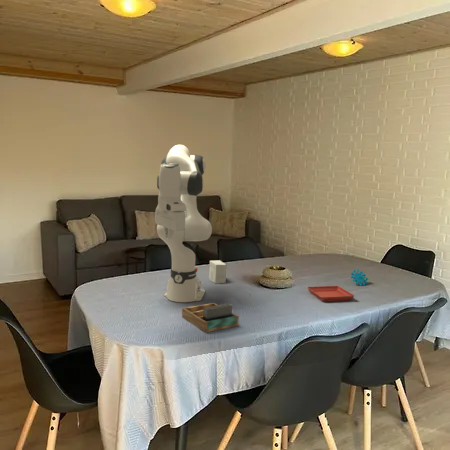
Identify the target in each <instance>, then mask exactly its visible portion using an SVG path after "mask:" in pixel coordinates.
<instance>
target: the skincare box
mask: <svg viewBox="0 0 450 450" xmlns="http://www.w3.org/2000/svg"><path fill="white" fill-rule="evenodd" d="M208 268H209V271H208V272H209V273H208V280H210V281H211V282H212V283H214V284H226V279H227V278H226V277H227V264H226V263H225V262H223V261H222V260H220V259H219V260H209V267H208Z"/></svg>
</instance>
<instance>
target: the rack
mask: <svg viewBox="0 0 450 450" xmlns="http://www.w3.org/2000/svg"><path fill="white" fill-rule="evenodd" d="M217 305H218V304H217V303H215V302H211V303H206V304H205V303H204V304H199V305H191V306H188V307H187V306H186V307H182V311H181V315H182V316H181V317H182V318H183V319H184V320H186V321H187V322H188V323H190V324H192V325H194V326H195V327H196V329H197V328H198V329H199V330H201V331H202V332H204V333H210V332H214V331H218V330H223V329H229V328H233V327H238V326H239V318H240V317H239V315H237V314H235V313H234V312H232V317H227V318H222V319H217V320H211V321H205V320H203V308H205V307H211V306H217Z"/></svg>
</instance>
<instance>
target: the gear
mask: <svg viewBox="0 0 450 450" xmlns="http://www.w3.org/2000/svg"><path fill="white" fill-rule="evenodd" d="M366 276H367V274H366V273H364V271H362V270H361V271H360V270H359V269H356V270H355V269H354V270H352V272H351V273H350V278H351V279H352V282H353V283H354V284H355V285H359V286H360V287H361V286H365V285H366V284H367V283H368V280H369V279H370V276H367V277H366ZM355 282H356V283H355Z"/></svg>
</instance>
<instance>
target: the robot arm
mask: <svg viewBox="0 0 450 450" xmlns="http://www.w3.org/2000/svg"><path fill="white" fill-rule="evenodd" d="M205 171H206V161H205V159H204V157H203V156H202V155H201V154H195V155H194V154H191V152H190V150H189V148H188V147H187V146H185V145H184V144H176V145H173V147H171V148H170V149H169V151H168V153H167V155H166V157H164V158H163V159H162V160H161V164H160V168H159V174H158V175H157V179H156V180H157V181H156V186H157V187H156V188H157V190H158V197H157V202H158V203H157V206H156V208H155V212H154V223H155V224H156V234H157V235H158V237H159V238H160V239H161V240H162V241H163V242H164V243H165V244H166V245H167V246H168V249H169V250H170V256H171V269H170V278H169V279H167V286H166V292H165V293H164V294H163V296H164V297H166V298H167V300H169V301H171V302H175V303H192V302H199V301H202V299H203V297H204V295H205V293H206V291H205V289H203V288H201V286H202V285H201V280H199V278H198V277H197V273H198V267H196V253H195V252H194V251H193V250H192V249H190V248H189V247H186V246H185V245H184V244H183V242H202V241H207V240H208V239H210V237H211V235H212V233H213V232H212V231H213V227H212V223H211V222H210V221H209V220H208V219H207V218H205V217H203V215H202V214H201V213H200V212H199V210H198V203H197V196H198V195H200V194H201V193H202V192H203V189H204V187H205V186H204V184H205V181H204V177H203V175H204V174H205Z"/></svg>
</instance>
